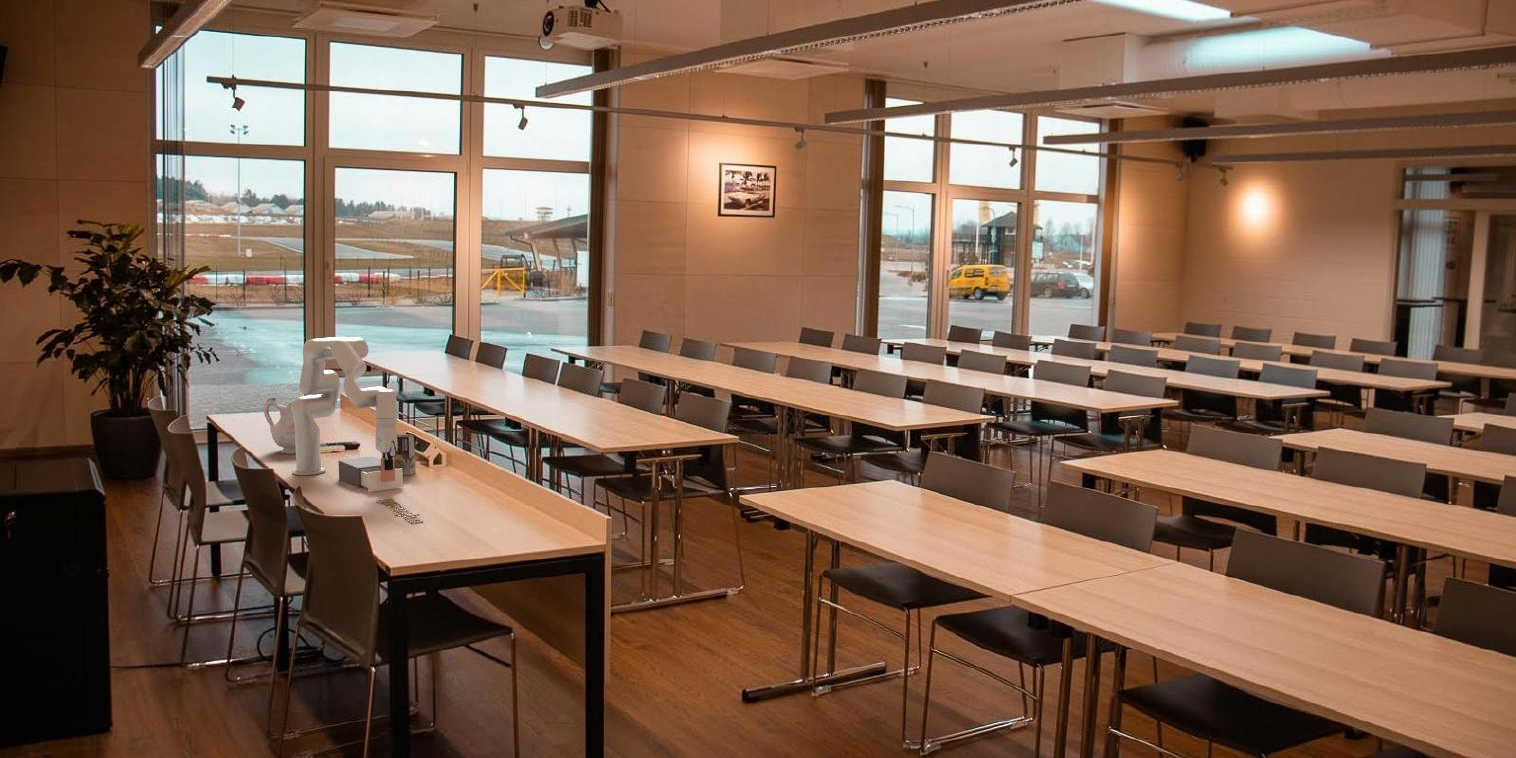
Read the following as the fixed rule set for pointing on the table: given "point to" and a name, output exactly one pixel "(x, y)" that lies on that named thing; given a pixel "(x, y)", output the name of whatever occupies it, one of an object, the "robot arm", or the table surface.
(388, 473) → the box with pink tab
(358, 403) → the robot arm
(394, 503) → the text sign
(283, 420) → the ceramic pitcher
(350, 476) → the low grey box
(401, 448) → the coffee box
